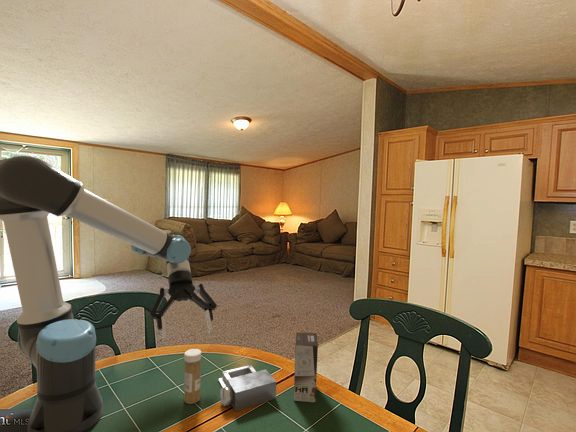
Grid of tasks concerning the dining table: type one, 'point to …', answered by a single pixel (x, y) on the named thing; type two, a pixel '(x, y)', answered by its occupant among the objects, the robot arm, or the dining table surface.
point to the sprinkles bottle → (192, 376)
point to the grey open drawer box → (246, 387)
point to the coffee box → (305, 367)
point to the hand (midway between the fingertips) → (188, 335)
